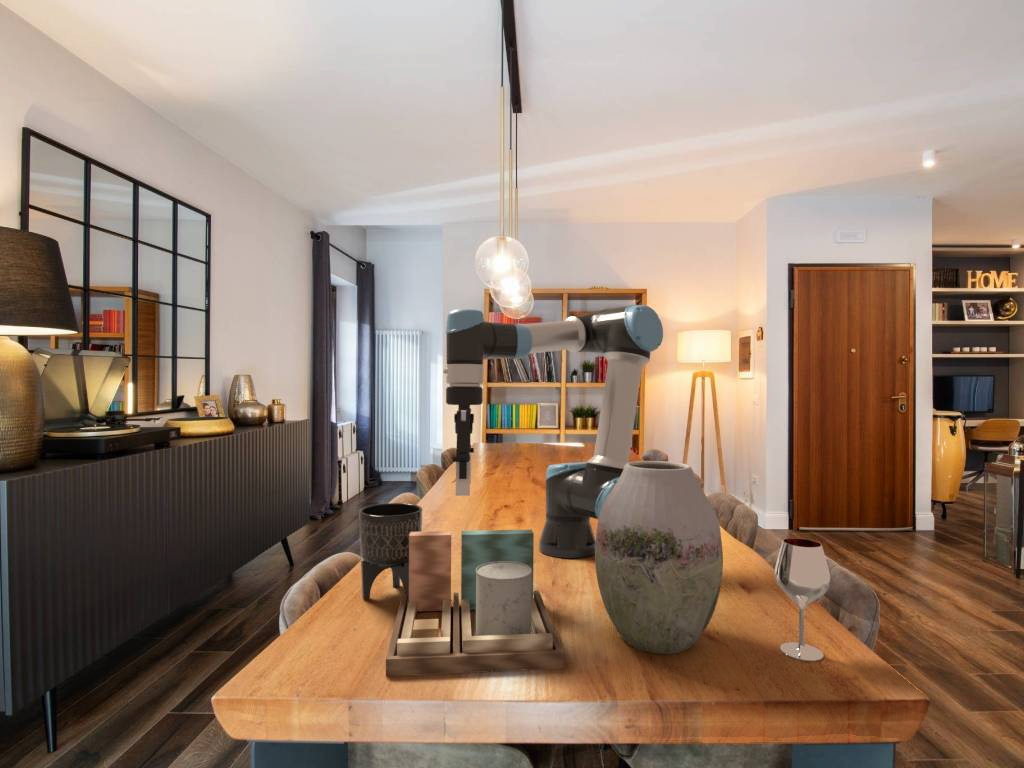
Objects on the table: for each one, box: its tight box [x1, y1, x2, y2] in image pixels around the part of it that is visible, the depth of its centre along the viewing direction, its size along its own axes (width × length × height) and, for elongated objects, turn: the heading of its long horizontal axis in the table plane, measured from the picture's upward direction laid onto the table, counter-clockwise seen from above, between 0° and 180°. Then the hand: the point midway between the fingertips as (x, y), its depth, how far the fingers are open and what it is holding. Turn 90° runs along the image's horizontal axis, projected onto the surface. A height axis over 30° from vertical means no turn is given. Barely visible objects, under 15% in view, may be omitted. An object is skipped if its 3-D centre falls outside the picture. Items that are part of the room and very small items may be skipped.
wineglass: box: [774, 537, 831, 662], centre depth 95 cm, size 8×8×18 cm
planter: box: [358, 502, 423, 602], centre depth 120 cm, size 13×13×18 cm
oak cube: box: [412, 618, 439, 638], centre depth 96 cm, size 4×4×4 cm
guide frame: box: [385, 589, 565, 677], centre depth 101 cm, size 27×27×2 cm
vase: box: [594, 460, 724, 655], centre depth 100 cm, size 21×21×30 cm
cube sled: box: [397, 530, 452, 656], centre depth 101 cm, size 8×26×14 cm, turn 6°
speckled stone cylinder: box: [475, 561, 532, 636], centre depth 98 cm, size 10×10×12 cm
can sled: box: [460, 529, 553, 653], centre depth 102 cm, size 14×26×14 cm, turn 6°
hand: (463, 489), depth 119 cm, fingers open, 13 cm apart
